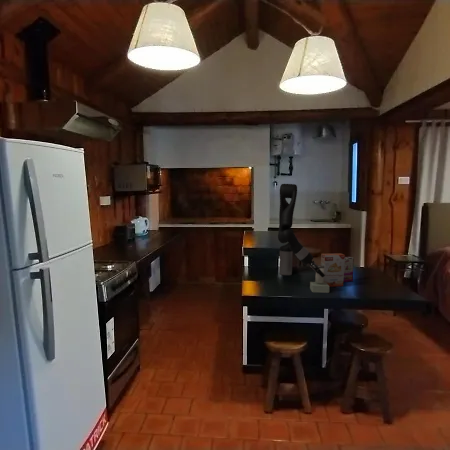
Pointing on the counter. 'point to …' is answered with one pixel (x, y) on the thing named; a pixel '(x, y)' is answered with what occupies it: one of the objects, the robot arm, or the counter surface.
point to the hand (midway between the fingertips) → (322, 275)
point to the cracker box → (333, 269)
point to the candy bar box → (348, 269)
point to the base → (319, 287)
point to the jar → (318, 277)
